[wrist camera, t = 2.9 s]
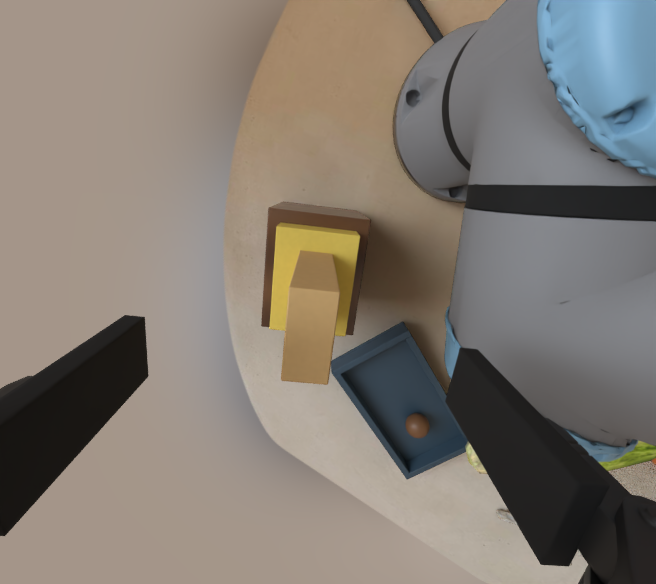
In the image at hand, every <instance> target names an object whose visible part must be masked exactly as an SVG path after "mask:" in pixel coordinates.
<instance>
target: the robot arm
mask: <svg viewBox="0 0 656 584" xmlns="http://www.w3.org/2000/svg"><path fill="white" fill-rule="evenodd" d="M407 2H408V3H409V5H410V6H411V8H412V9H413V11H414V12H415V14H416V15H417V17H418V18H419V20H420V21H421V23H422V24H423V26H424V28H425V29H426V31H427V32H428V34H429V35H430V37H431V39H432V40H433V42H434V43H435V44H433V45H432V46H431V47H430V48H429V49H428V50H427V51H426V52H425V53H424V54H423V55H422V56H421V57H420V59H419V60H418V61H417V63H416V64H415V65H414V67H413V68H412V69H411V71H410V72H409V74H408V75H407V77H406V79H405V81H404V83H403V85H402V87H401V90H400V92H399V95H398V98H397V101H396V105H395V110H394V117H393V138H394V145H395V149H396V153H397V156H398V159H399V161H400V163H401V166H402V167H403V169H404V171H405V172H406V174H407V175H408V177H409V178H410V179H411V180H412V181H413V183H414V184H415V185H417V186H418V187H419V188H420V189H421V190H423V191H424V192H426V193H427V194H429V195H431V196H433V197H436V198H438V199H442V200H446V201H451V202H461V203H464V202H466V204H465V207H464V213H463V220H462V227H461V233H460V240H459V247H458V254H457V260H456V267H455V274H454V281H453V287H452V294H451V301H450V306H449V307H447V310H446V315H445V323H446V328H447V331H446V343H445V365H446V369H447V372H448V374H449V377H450V378H451V382H450V386H449V390H448V393H447V397H446V401H445V402H446V404H447V405H448V407H449V409H450V410H451V412H452V414H453V416H454V417H455V419H456V421H457V422H458V424H459V426H460V428H461V429H462V431H463V433H464V434H465V436H466V438H467V439H468V441H469V443H470V445H471V446H472V448H473V450H474V451H475V453H476V455H477V456H478V458H479V460H480V462H481V463H482V465H483V467H484V468H485V470H486V472H487V474H488V475H489V477H490V479H491V480H492V482H493V484H494V485H495V487H496V489H497V491H498V492H499V494H500V496H501V497H502V499H503V501H504V503H505V504H506V506H507V508H508V509H509V511H510V513H511V514H512V516H513V518H514V520H515V521H516V523H517V525H518V526H519V528H520V530H521V531H522V533H523V535H524V537H525V538H526V540H527V542H528V543H529V545H530V547H531V549H532V550H533V552H534V554H535V555H536V557H537V559H538V560H539V562H540V564H541V565H556V566H569V565H570V563H571V561H572V559H573V558H574V556H575V554H576V552H577V550H579V551H580V553H581V554H582V556H583V557H584V558H585V560H586V561H587V563H588V566H587V568H586V570H585V572H584V574H583V576H582V577H581V579H580V581H579V583H578V584H656V502H655V501H652V500H650V499H647V498H644V497H642V496H636V495H631V494H630V493H629V492H628V491H627V490H626V489H625V488H624V487H623V486H622V485H621V484H620V483H619V482H618V481H617V480H616V479H615V478H614V477H613V476H612V475H611V474H610V473H609V472H608V471H607V470H606V469H605V468H604V467H603V466H602V465H601V464H600V463H599V462H610V461H613V460H616V459H619V458H621V457H622V456H624V455H625V454H626V453H628V452H630V451H632V450H634V448H635V446H636V445H637V444H638V441H642V442H645V443H648V444H650V445H653V446H656V0H506V1H505V2H504V3H503V4H502V5H501V6H500V7H499V8H498V9H497V10H496V11H495V12H494V13H493V14H492V16H491V17H490V18H489V19H488V20H484V21H480V22H476V23H472V24H468V25H465V26H463V27H460V28H458V29H456V30H454V31H452V32H451V33H449V34H447V35H446V36H444V37H443V35H442V34H441V32H440V31H439V29H438V27H437V26H436V24H435V23H434V21H433V20H432V18H431V16H430V15H429V13H428V12H427V10H426V9H425V7H424V6H423V4H422V3H421V1H420V0H407ZM147 377H148V364H147V348H146V332H145V317H138V316H128V315H125V316H123V317H122V318H120V319H119V320H117V321H116V322H114V323H113V324H111V325H110V326H108V327H107V328H105V329H104V330H102V331H100V332H99V333H98V334H96V335H95V336H93V337H92V338H90V339H88V340H87V341H86V342H84V343H82V344H81V345H79V346H78V347H77V348H75V349H73V350H72V351H70V352H69V353H68V354H66V355H65V356H63V357H61V358H60V359H58V360H57V361H55V362H54V363H52V364H51V365H50V366H48V367H46V368H45V369H43V370H42V371H40V372H39V373H37V374H36V375H34V376H27V377H25V378H22V379H20V380H18V381H15V382H13V383H10V384H8V385H6V386H4V387H2V388H1V389H0V536H5V535H6V534H7V533H8V532H9V531H10V530H11V529H12V528H13V526H14V525H15V524H16V523H17V522H18V521H19V520H20V518H21V517H22V516H23V515H24V514H25V513H26V512H27V511H28V510H29V508H30V507H31V506H32V505H33V504H34V503H35V502H36V501H37V500H38V498H39V497H40V496H41V495H42V494H43V493H44V492H45V491H46V490H47V489H48V487H49V486H50V485H51V484H52V483H53V482H54V481H55V479H56V478H57V477H58V476H59V475H60V474H61V473H62V472H63V471H64V469H66V467H67V466H68V465H69V464H70V463H71V462H72V461H73V460H74V458H75V457H76V456H77V455H78V454H79V453H80V452H81V450H83V448H84V447H85V446H86V445H87V444H88V443H89V442H90V441H91V440H92V438H93V437H94V436H95V435H96V434H97V433H98V432H99V431H100V429H101V428H102V427H103V426H104V425H105V424H106V423H107V422H108V420H109V419H110V418H111V417H112V416H113V415H114V414H115V413H116V412H117V411H118V409H119V408H120V407H121V406H122V405H123V404H124V403H125V402H126V401H127V399H128V398H129V397H130V396H131V395H132V394H133V393H134V391H135V390H136V389H137V388H138V387H139V386H140V385H141V384H142V383H143V382H144V381H145V379H146V378H147Z"/></svg>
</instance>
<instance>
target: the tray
mask: <svg viewBox="0 0 656 584" xmlns="http://www.w3.org/2000/svg"><path fill="white" fill-rule="evenodd" d="M331 370H332V374H333V375H334V377H335V378H336V379H337V381H338V382H339V384H340V385H341V387H342V388H343V389H344V391H345V392H346V394H347V395H348V396H349V398H350V399H351V401H352V402H353V404H354V405H355V406H356V408H357V409H358V411H359V412H360V413H361V415H362V416H363V418H364V419H365V421H366V422H367V423H368V425H369V426H370V428H371V429H372V430H373V432H374V433H375V435H376V436H377V438H378V439H379V440H380V442H381V443H382V445H383V446H384V447H385V449H386V450H387V452H388V453H389V455H390V456H391V457H392V459H393V460H394V462H395V463H396V464H397V466H398V467H399V469H400V470H401V472H402V473H403V474H404V476H405V477H406V479H409V478H411V477H414V476H416V475H418V474H420V473H422V472H424V471H426V470H428V469H430V468H433V467H435V466H437V465H439V464H441V463H443V462H445V461H447V460H449V459H452V458H454V457H456V456H458V455H460V454H462V453H464V452H466V449H465V446H466V444H467V442H468V439H467V438H466V436H465V434H464V433H463V431H462V429H461V428H460V426H459V424H458V422H457V421H456V419H455V417H454V416H453V414H452V412H451V410H450V409H449V407H448V405H447V404H446V402H445V401H446V397H447V395H446V394H445V392H444V390H443V388H442V387H441V385H440V383H439V382H438V380H437V378H436V376H435V375H434V373H433V371H432V370H431V368H430V366H429V365H428V363H427V361H426V359H425V358H424V356H423V354H422V353H421V351H420V349H419V347H418V346H417V344H416V342H415V341H414V339H413V337H412V336H411V334H410V332H409V330H408V329H407V327H406V326H405V324H404V322H401V323H399V324H397V325H395V326H394V327H392V328H390V329H388V330H386V331H385V332H383V333H381V334H379V335H377V336H376V337H374V338H372V339H370V340H368V341H367V342H365V343H363V344H361V345H359V346H358V347H356V348H354V349H352V350H350V351H349V352H347V353H345V354H343V355H341V356H339V357H338V358H336V359H334V360H332V361H331ZM413 413H420V414H422V415H424V416H425V417H426V418H427V420H428V421H429V425H430V429H429V432H428V434H427V435H426V436H425V437H423V438H414V437H412V436H411V435H410V434H409V433H408V432H407V430H406V427H405V422H406V419H407V417H408V416H409V415H411V414H413Z"/></svg>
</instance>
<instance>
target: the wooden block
mask: <svg viewBox="0 0 656 584" xmlns="http://www.w3.org/2000/svg"><path fill="white" fill-rule="evenodd" d="M280 223H290V224H298V225H307V226H315V227H324V228H332V229H341V230H349V231H356V232H357V233H358V234H359V235H360V242H359V249H358V255H357V262H356V269H355V275H354V282H353V289H352V295H351V302H350V309H349V315H348V322H347V329H346V335H353V331H354V325H355V319H356V312H357V306H358V300H359V293H360V287H361V281H362V274H363V268H364V261H365V255H366V249H367V242H368V236H369V230H370V223H371V220H370V219H368V218H367V217H365V216H364V215H362V214H361V213H359V212H358V211H355V210H347V209H339V208H330V207H322V206H314V205H306V204H298V203H289V202H281V203H279V204H276V205H274V206H272V207H269V208H268V224H267V241H266V257H265V274H264V291H263V307H262V324H261V326H264V327H270V314H271V299H272V285H273V270H274V255H275V241H276V227H277V226H278V225H279V224H280Z"/></svg>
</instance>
